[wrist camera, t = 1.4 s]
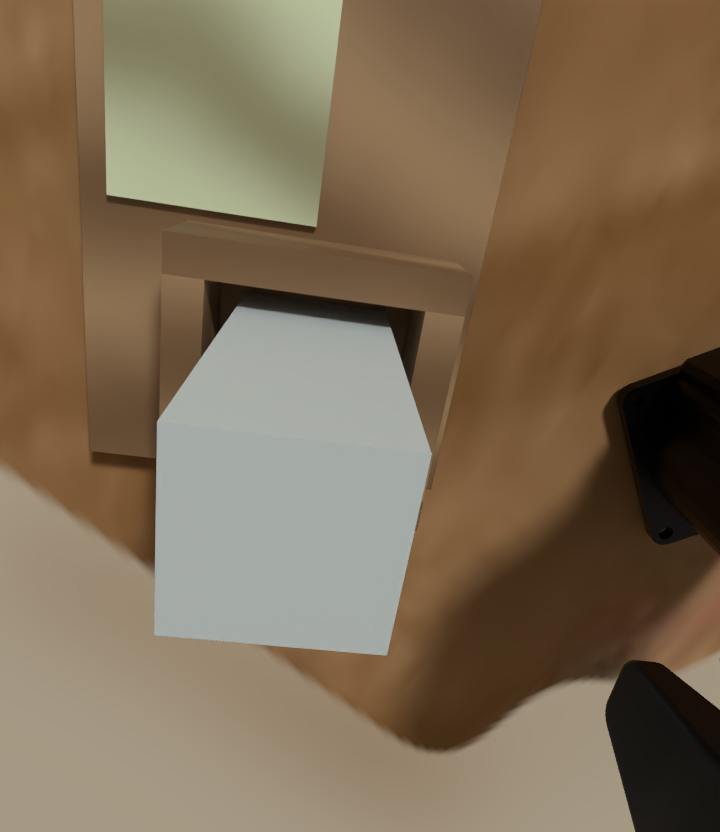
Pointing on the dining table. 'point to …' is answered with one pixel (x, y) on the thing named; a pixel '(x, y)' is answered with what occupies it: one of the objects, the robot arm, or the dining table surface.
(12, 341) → the dining table surface
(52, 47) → the dining table surface
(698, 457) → the robot arm
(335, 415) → the block
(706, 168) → the dining table surface
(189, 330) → the brown slotted holder
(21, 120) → the dining table surface
